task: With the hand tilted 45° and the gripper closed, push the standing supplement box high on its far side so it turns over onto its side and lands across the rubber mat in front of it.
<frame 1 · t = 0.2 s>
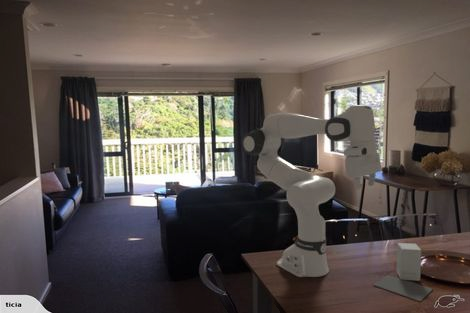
hand: (365, 187, 131), 39 cm above the table, tool pointing down, fingers open, 8 cm apart
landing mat: (402, 287, 136), on the table
supplement box: (407, 276, 145), on the table
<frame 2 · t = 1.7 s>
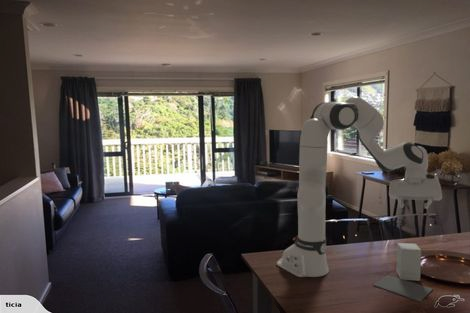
hand: (413, 207, 150), 26 cm above the table, tool tilted 45°, fingers open, 8 cm apart
nothing on the table moved.
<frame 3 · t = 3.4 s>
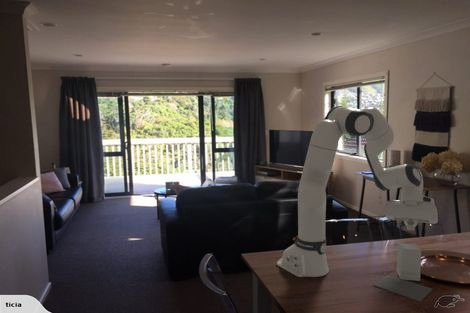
hand: (410, 229, 152), 16 cm above the table, tool tilted 45°, fingers closed
nothing on the table moved.
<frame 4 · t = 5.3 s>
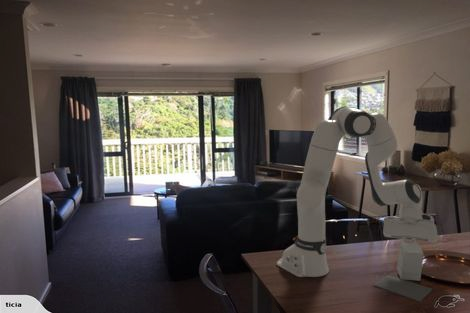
hand: (408, 248, 146), 11 cm above the table, tool tilted 45°, fingers closed
supplement box: (408, 274, 145), point 1 cm above the table, touching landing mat
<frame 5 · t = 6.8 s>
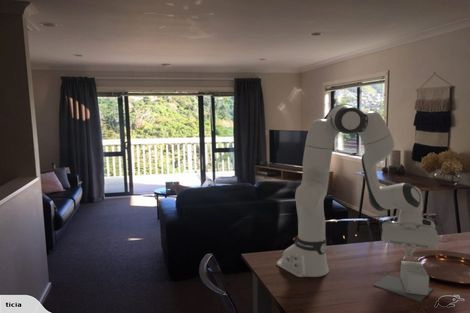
hand: (408, 255, 139), 11 cm above the table, tool tilted 45°, fingers closed
supplement box: (410, 269, 142), point 4 cm above the table, touching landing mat
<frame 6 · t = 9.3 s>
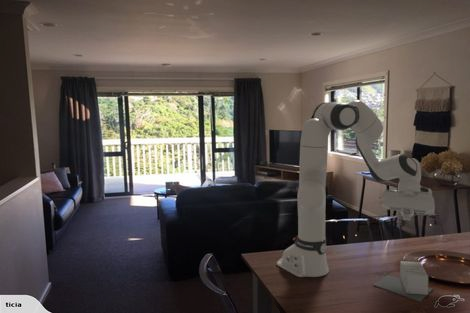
hand: (406, 219, 150), 21 cm above the table, tool tilted 45°, fingers closed
nothing on the table moved.
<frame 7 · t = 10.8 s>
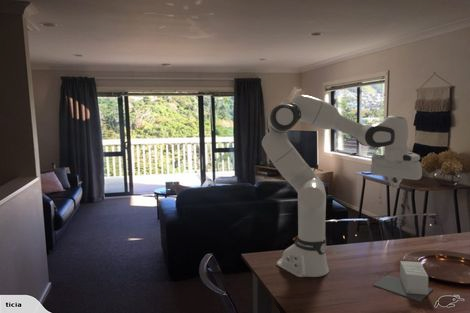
hand: (394, 187, 151), 34 cm above the table, tool pointing down, fingers closed
nothing on the table moved.
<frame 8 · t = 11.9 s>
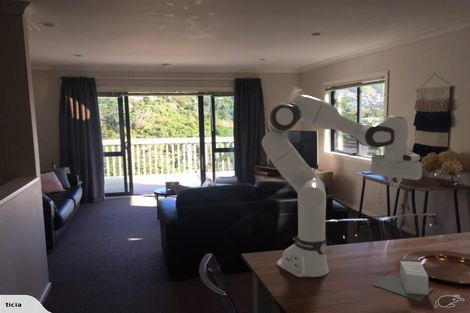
hand: (394, 187, 151), 34 cm above the table, tool pointing down, fingers closed
nothing on the table moved.
at the end: supplement box tilted 90°; supplement box inside the target area (3.0 cm from its centre), point 4.1 cm above the table; supplement box touching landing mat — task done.
